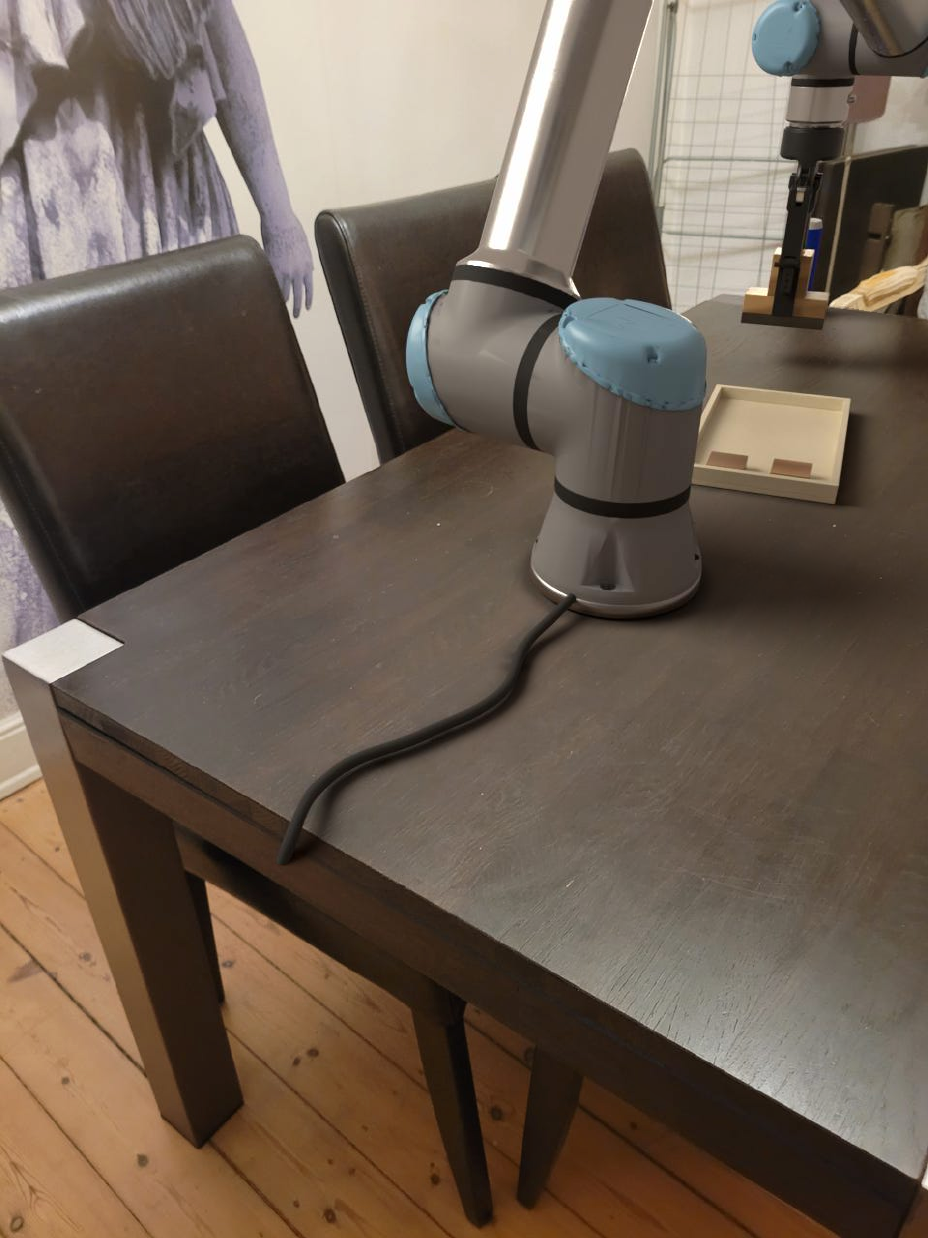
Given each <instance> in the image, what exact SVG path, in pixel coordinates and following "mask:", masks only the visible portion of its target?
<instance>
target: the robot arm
mask: <svg viewBox="0 0 928 1238" xmlns="http://www.w3.org/2000/svg"><path fill="white" fill-rule="evenodd" d="M654 1H655V0H546V3H545V6H544V10H543V13H542V17H541V20H540V24H539V28H538V32H537V35H536V39H535V42H534V47H533V50H532V53H531V57H530V60H529V64H528V68H527V71H526V74H525V79H524V82H523V85H522V89H521V92H520V96H519V100H518V104H517V107H516V110H515V115H514V118H513V122H512V126H511V129H510V131H509V132H510V133H509V136H508V140H507V143H506V148H505V151H504V154H503V158H502V162H501V165H500V169H499V172H498V176H497V180H496V184H495V187H494V191H493V194H492V199H491V202H490V205H489V209H488V212H487V215H486V216H487V217H486V218H485V219H486V220H485V223H484V227H483V231H482V234H481V238H480V242H479V245H478V248H476V250H475V251H474V252H472V253H471V254H469V255H467V256H466V257H464V258H462V259H460V260H458V261H457V262H456V264H455V267H454V270H453V275H452V278H451V281H450V285H449V289H443V290H440V291H437V292H434V293H432V294H431V295H429V296H428V297H427V298H425V303H421V304H420V305H419V306H418V308H417V309H416V311H415V314H414V315H413V318H412V320H411V323H410V326H409V329H408V332H407V338H406V347H405V363H406V372H407V377H408V381H409V384H410V386H411V387H412V388H413V393H414V396H415V399H416V402H418V404H419V406H420V407H421V408H422V409H423V410H424V411H425V412H426V414H428V415H429V416H430V417H431V418H433V419H435V420H437V421H439V422H442V423H445V424H447V425H450V426H452V427H454V428H455V429H457V430H459V431H461V432H465V433H467V434H472V435H475V434H477V435H481V436H485V437H486V438H487V437H488V438H491V439H494V440H499V441H502V442H506V443H509V444H512V445H516V446H519V447H523V448H527V449H529V450H533V451H538V452H541V453H544V454H547V455H551V456H552V457H554V478H553V479H554V480H553V494H552V498H551V501H550V503H549V506H548V509H547V512H546V514H545V517H544V521H543V523H542V526H541V529H540V532H539V534H538V535H537V536H536V539H535V541H534V543H533V545H532V550H531V555H530V571H529V572H530V577H531V581H532V583H533V584H534V587H536V589H537V590H538V591H539V592H540V593H541V594H542V595H543V596H544V597H546V598H548V599H549V600H550V601H552V602H554V603H556V604H557V605H556V606H555V607H554V608H552V610H551V611H549V612H548V614H547V615H545V616H544V618H543V619H542V620H540V622H538V623H537V624H536V625H535V626H534V627H533V628H532V629H531V630H530V631H529V632H528V633H527V634H526V635H525V636H524V638H523V639H522V641H521V642H520V643H519V645H518V647H517V649H516V651H515V652H514V654H513V657H512V660H511V663H510V666H509V669H508V673H507V675H506V677H505V678H504V680H503V682H502V683H501V684H500V685H499V686H498V687H497V688H496V689H495V690H494V691H493V692H492V693H491V694H489V695H487V697H485V698H484V699H482V700H480V701H479V702H478V703H475V704H473V705H472V706H470V707H468V708H466V709H464V710H462V711H459V712H457V713H455V714H453V715H450V716H447V717H446V718H443V719H441V720H438V721H436V722H434V723H431V724H429V725H427V726H425V727H423V728H421V729H419V730H416V731H413V732H412V733H409V734H407V735H404V736H401V737H398V738H395V739H392V740H388V741H386V742H383V743H379V744H377V745H373V746H371V747H367V748H365V749H363V750H360V751H357V752H355V753H353V754H351V755H349V756H347V757H344V758H343V759H341V760H340V761H339V762H337V763H335V764H334V765H332V766H331V767H330V768H328V770H326V771H325V772H323V774H321V775H320V776H319V777H318V778H317V779H316V780H314V782H313V783H312V784H311V785H310V786H309V787H308V788H307V789H306V791H305V792H304V793H303V795H302V796H301V798H300V800H299V802H298V804H297V806H296V808H295V810H294V812H293V814H292V817H291V819H290V822H289V824H288V826H287V829H286V832H285V835H284V837H283V839H282V842H281V846H280V848H279V852H278V854H277V857H276V861H275V862H276V864H277V865H278V866H285V865H287V864H289V863H290V861H291V860H292V857H293V854H294V851H295V849H296V845H297V844H298V841H299V837H300V835H301V832H302V830H303V826H304V824H305V822H306V819H307V817H308V814H309V812H310V810H311V808H312V806H313V805H314V803H315V802H316V800H317V799H318V798H319V796H320V795H321V794H322V793H323V792H324V791H325V790H326V789H327V788H329V786H330V785H332V784H333V783H335V781H337V780H338V779H339V778H340V777H342V776H343V775H344V774H347V773H348V772H349V771H351V770H352V769H353V770H354V769H355V768H357V767H358V766H361V765H363V764H365V763H367V762H370V761H373V760H376V759H378V758H382V757H384V756H388V755H391V754H394V753H396V752H400V751H402V750H405V749H408V748H410V747H414V746H416V745H418V744H421V743H424V742H426V741H428V740H430V739H432V738H434V737H436V736H438V735H440V734H443V733H445V732H447V731H450V730H452V729H454V728H457V727H459V726H461V725H463V724H465V723H467V722H470V721H472V720H474V719H476V718H477V717H479V716H481V715H483V714H485V713H487V712H488V711H489V710H491V709H492V708H494V707H495V706H497V705H498V704H499V703H500V702H502V701H503V699H505V698H506V696H508V694H510V692H511V691H512V689H513V688H514V686H515V685H516V683H517V680H518V678H519V676H520V673H521V670H522V667H523V663H524V660H525V657H526V655H527V653H528V652H529V650H530V649H531V648H532V646H533V645H534V644H535V643H536V641H537V640H538V639H539V638H540V637H541V636H542V635H544V633H545V632H546V631H548V629H550V627H551V626H552V625H554V624H555V623H556V622H557V621H558V619H560V617H561V616H562V615H563V614H565V613H566V612H567V610H568V609H569V610H571V611H574V612H577V613H580V614H585V615H588V616H594V617H600V618H606V619H641V618H648V617H649V618H650V617H655V616H658V615H663V614H665V613H669V612H671V611H674V610H676V609H678V608H680V607H683V606H684V605H685V604H688V603H689V601H691V600H692V599H693V598H694V597H695V595H696V594H697V592H698V590H699V587H700V583H701V576H702V570H703V569H702V556H701V551H700V547H699V546H698V543H697V541H698V540H697V534H696V528H695V524H694V519H693V515H692V510H691V506H690V499H691V490H692V484H691V483H692V476H693V469H694V462H695V455H696V448H697V441H698V434H699V427H700V420H701V415H702V413H703V405H704V399H705V397H706V394H707V387H708V385H707V379H706V377H707V362H708V361H707V360H708V347H707V342H706V338H705V337H704V335H703V333H702V332H701V331H700V330H699V328H698V327H697V325H696V324H694V322H692V321H691V320H690V319H689V318H687V317H686V316H685V315H684V316H683V315H682V314H680V313H678V312H676V311H673V310H671V309H669V308H666V307H663V306H661V305H657V304H654V303H650V302H645V301H641V300H638V299H637V300H636V299H631V298H629V299H628V298H626V299H623V300H622V299H617V298H614V297H592V298H586V299H585V298H584V299H582V297H581V295H580V293H579V291H578V289H577V287H576V284H575V283H574V279H573V275H574V271H575V268H576V265H577V261H578V258H579V255H580V251H581V248H582V245H583V241H584V237H585V235H586V231H587V227H588V224H589V221H590V217H591V214H592V212H593V211H592V210H593V207H594V204H595V200H596V197H597V193H598V190H599V188H600V183H601V180H602V176H603V173H604V171H605V167H606V163H607V159H608V157H609V152H610V149H611V147H612V143H613V141H614V140H613V139H614V137H615V133H616V129H617V126H618V122H619V120H620V116H621V113H622V109H623V105H624V104H625V103H624V102H625V99H626V96H627V92H628V90H629V85H630V82H631V78H632V76H633V72H634V68H635V66H636V61H637V59H638V56H639V53H640V49H641V46H642V42H643V38H644V35H645V33H646V32H645V31H646V28H647V25H648V21H649V18H650V16H651V15H650V14H651V11H652V8H653V4H654ZM751 52H752V57H753V58H754V61H755V63H756V65H757V66H758V67H759V68H760V69H761V71H763V72H765V73H766V74H768V75H770V76H776V77H779V78H782V77H788V78H790V77H791V81H790V85H789V91H788V96H787V102H786V108H785V116H784V120H785V121H786V122H788V125H786V126H785V127H784V128H783V129H782V130H783V132H782V138H781V144H780V151H779V156H780V158H782V159H784V160H787V161H797V167H796V172H791V175H790V174H789V179H788V183H787V190H788V195H787V201H786V207H785V208H786V211H787V215H786V219H785V220H786V221H785V227H784V233H783V238H782V246H781V248H782V251H781V257H780V258H779V262H775V263H774V267H779V271H778V277H777V283H776V289H775V296H774V302H773V308H772V314H771V316H780V317H792V313H793V307H794V301H795V296H796V290H797V284H798V279H799V273H800V267H799V266H800V265H801V260H800V259H801V254H802V249H806V247H807V243H806V242H807V237H808V231H809V225H810V220H811V218H812V213H813V212H814V210H815V208H816V206H817V202H818V194H819V192H820V188H821V186H822V183H823V178H824V173H820V172H819V166H820V162H830V161H831V162H833V161H835V160H838V159H839V158H840V157H841V156H842V151H843V146H844V140H845V136H846V135H845V134H846V129H845V126H843V125H842V123H844V122H846V121H847V120H848V117H849V111H850V105H849V104H855V103H856V102H857V94H854V93H851V92H852V91H853V90H854V89H853V88H854V85H855V82H856V81H855V79H856V76H864V77H865V76H867V77H868V76H869V77H895V78H897V77H898V78H899V77H900V78H919V79H926V78H927V77H928V0H776V1H774V2H772V3H770V5H768V6H767V7H766V8H765V9H764V10H763V11H762V13H761V14H760V15H759V17H758V19H757V21H756V22H755V25H754V28H753V31H752V35H751Z"/></svg>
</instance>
